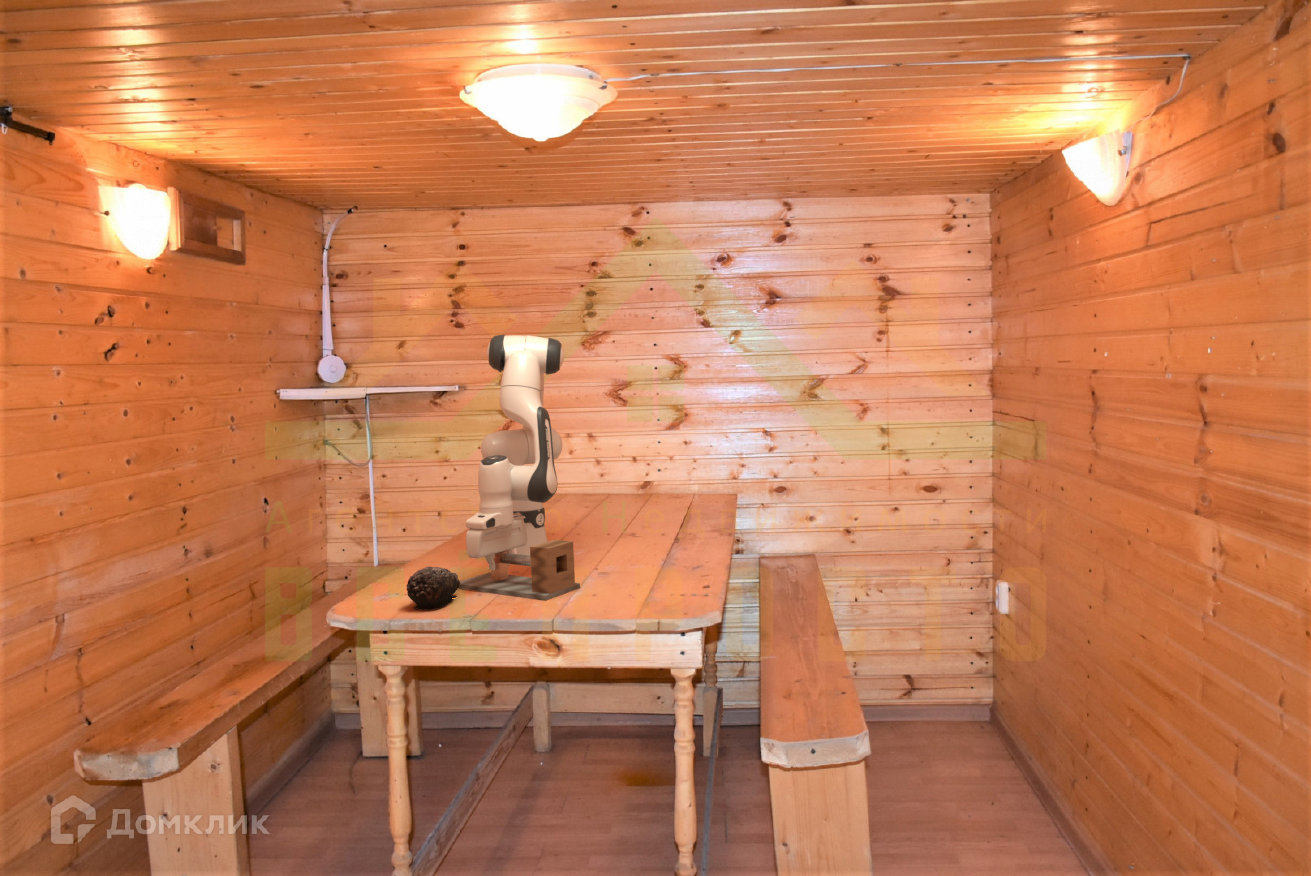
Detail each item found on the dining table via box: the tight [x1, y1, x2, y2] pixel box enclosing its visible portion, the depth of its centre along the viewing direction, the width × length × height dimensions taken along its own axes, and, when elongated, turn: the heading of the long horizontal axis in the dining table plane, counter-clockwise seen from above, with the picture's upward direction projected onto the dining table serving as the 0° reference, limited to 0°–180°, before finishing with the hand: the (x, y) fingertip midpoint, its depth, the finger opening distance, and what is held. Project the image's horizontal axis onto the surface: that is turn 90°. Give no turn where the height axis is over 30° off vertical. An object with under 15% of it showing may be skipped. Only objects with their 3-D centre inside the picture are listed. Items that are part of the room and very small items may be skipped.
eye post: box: [458, 539, 581, 601], centre depth 245 cm, size 32×14×13 cm, turn 57°
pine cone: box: [406, 566, 461, 611], centre depth 232 cm, size 10×18×10 cm, turn 174°
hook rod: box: [490, 551, 560, 580], centre depth 243 cm, size 21×3×7 cm, turn 57°
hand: (499, 568), depth 248 cm, fingers closed on hook rod, 3 cm apart
